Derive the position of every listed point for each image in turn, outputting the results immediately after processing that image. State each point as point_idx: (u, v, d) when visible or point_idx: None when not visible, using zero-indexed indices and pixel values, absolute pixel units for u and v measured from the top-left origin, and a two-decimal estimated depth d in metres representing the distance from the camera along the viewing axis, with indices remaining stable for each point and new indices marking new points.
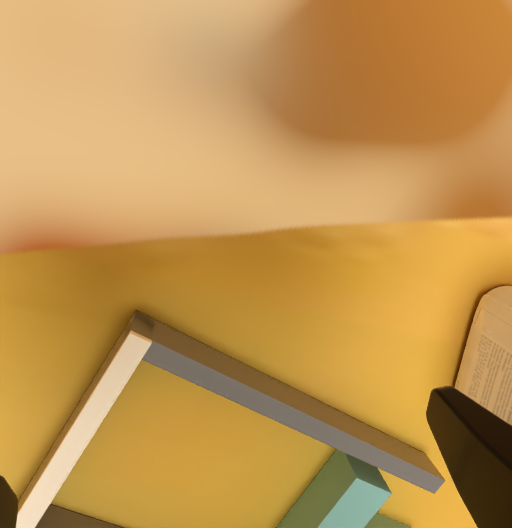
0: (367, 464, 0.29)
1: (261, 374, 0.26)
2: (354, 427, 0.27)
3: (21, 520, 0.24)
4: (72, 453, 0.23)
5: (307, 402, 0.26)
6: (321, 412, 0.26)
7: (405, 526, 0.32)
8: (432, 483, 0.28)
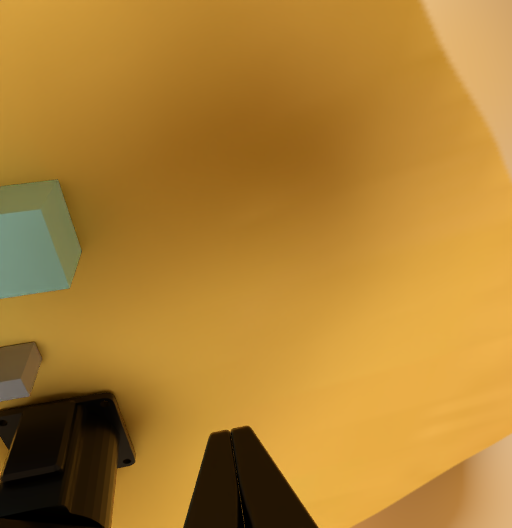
0: None
1: None
2: None
3: None
4: None
5: None
6: None
7: (37, 183, 0.17)
8: None
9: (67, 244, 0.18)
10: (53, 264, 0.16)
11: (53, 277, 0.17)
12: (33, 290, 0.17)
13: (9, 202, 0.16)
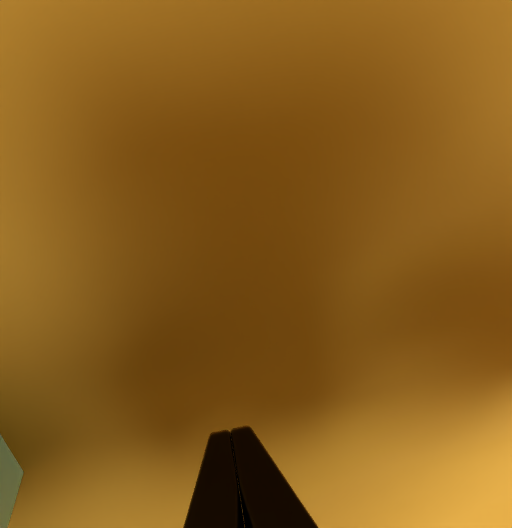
0: None
1: None
2: None
3: None
4: None
5: None
6: None
7: None
8: None
9: None
10: None
11: None
12: None
13: None
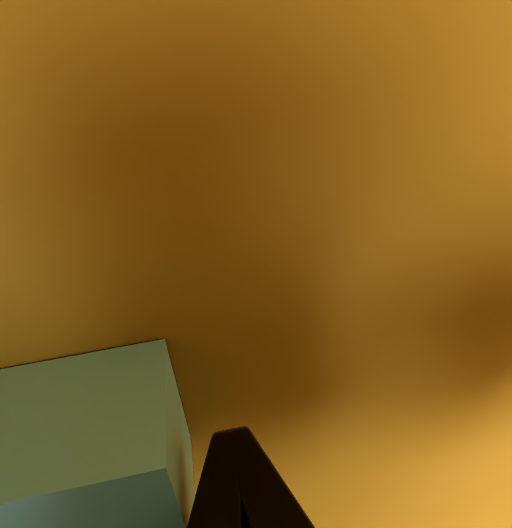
0: None
1: None
2: None
3: None
4: None
5: None
6: None
7: (128, 352, 0.09)
8: None
9: (186, 467, 0.09)
10: None
11: None
12: None
13: (86, 428, 0.07)
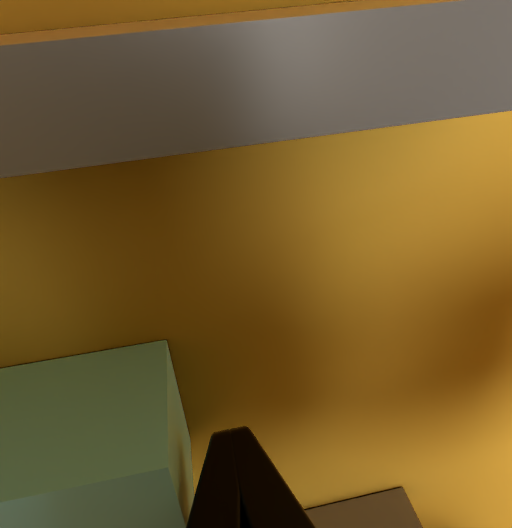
0: None
1: None
2: None
3: None
4: None
5: None
6: None
7: (130, 353, 0.09)
8: None
9: (186, 467, 0.09)
10: None
11: None
12: None
13: (89, 428, 0.07)
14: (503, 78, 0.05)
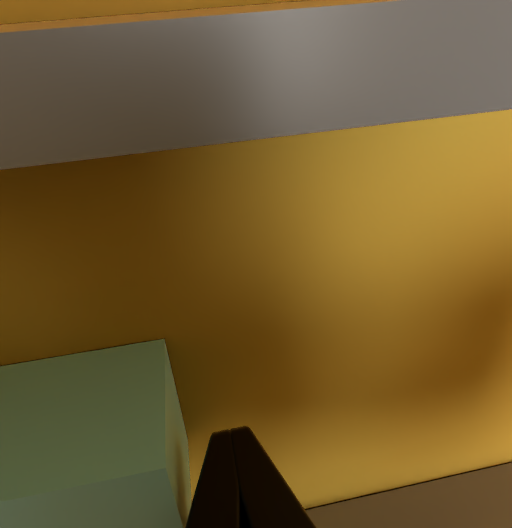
0: None
1: None
2: None
3: None
4: None
5: (72, 21, 0.05)
6: (151, 16, 0.05)
7: (128, 352, 0.09)
8: None
9: (183, 467, 0.09)
10: None
11: None
12: None
13: (85, 427, 0.07)
14: None
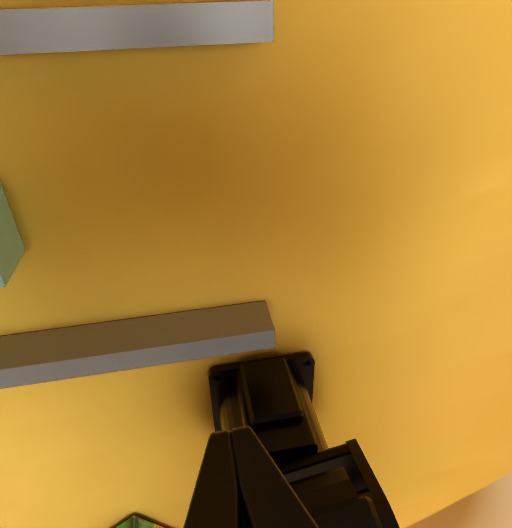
0: None
1: None
2: None
3: None
4: None
5: None
6: None
7: None
8: (251, 22, 0.14)
9: (6, 242, 0.18)
10: None
11: None
12: None
13: None
14: (226, 31, 0.14)
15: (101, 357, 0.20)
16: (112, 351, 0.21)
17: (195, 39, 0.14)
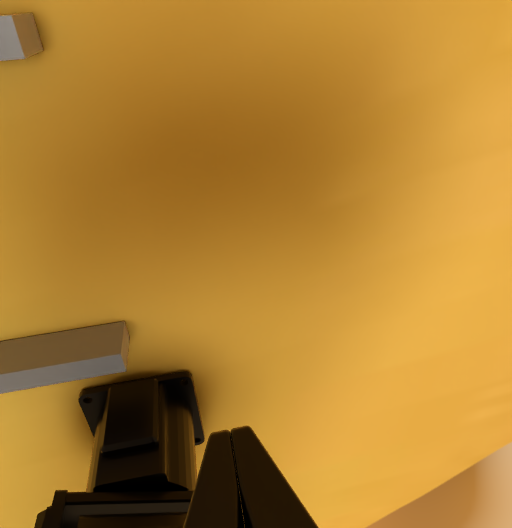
0: None
1: None
2: None
3: None
4: None
5: None
6: None
7: None
8: None
9: None
10: None
11: None
12: None
13: None
14: None
15: None
16: None
17: None
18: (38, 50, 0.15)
